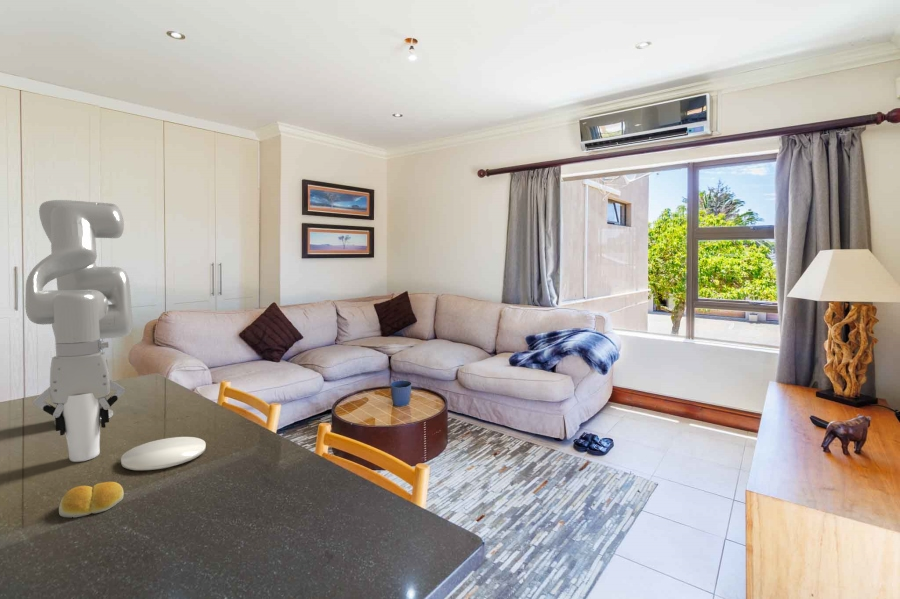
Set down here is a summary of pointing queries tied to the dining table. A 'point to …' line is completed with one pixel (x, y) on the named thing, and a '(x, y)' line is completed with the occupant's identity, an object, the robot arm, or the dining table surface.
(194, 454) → the cream dish
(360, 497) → the dining table surface
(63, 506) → the bread roll
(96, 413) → the white cup
